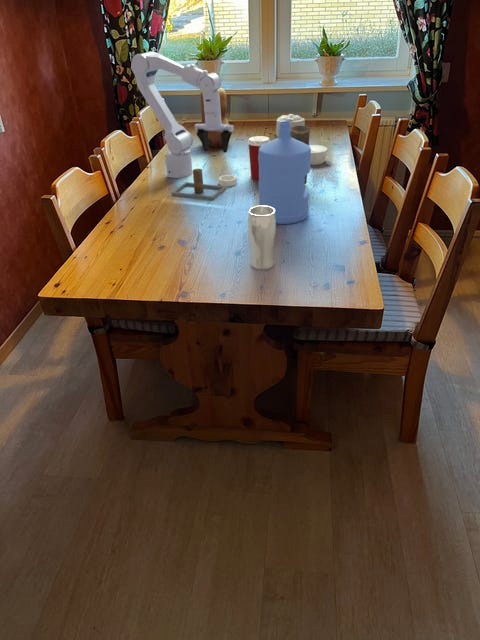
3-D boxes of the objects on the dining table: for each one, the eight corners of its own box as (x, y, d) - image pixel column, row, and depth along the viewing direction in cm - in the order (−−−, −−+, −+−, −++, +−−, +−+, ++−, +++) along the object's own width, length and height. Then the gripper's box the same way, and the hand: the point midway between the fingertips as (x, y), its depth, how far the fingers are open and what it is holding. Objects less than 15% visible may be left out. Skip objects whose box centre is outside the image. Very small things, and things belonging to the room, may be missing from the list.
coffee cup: (268, 184, 181) (268, 141, 172) (246, 183, 182) (245, 141, 174) (272, 176, 188) (272, 135, 179) (250, 175, 189) (249, 135, 181)
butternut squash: (236, 144, 226) (234, 84, 212) (220, 151, 217) (216, 89, 203) (211, 140, 232) (208, 82, 218) (194, 148, 223) (189, 87, 209)
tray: (171, 197, 173) (171, 192, 172) (186, 186, 181) (185, 182, 180) (213, 202, 168) (213, 197, 167) (226, 191, 176) (226, 186, 175)
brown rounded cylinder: (309, 183, 180) (311, 125, 169) (304, 190, 175) (307, 131, 163) (288, 181, 183) (290, 124, 171) (283, 188, 177) (284, 130, 166)
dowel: (193, 193, 174) (190, 171, 169) (197, 190, 176) (195, 168, 172) (201, 194, 173) (199, 172, 168) (205, 191, 175) (203, 169, 170)
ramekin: (295, 164, 199) (296, 151, 196) (303, 156, 207) (303, 143, 204) (322, 167, 195) (323, 153, 192) (329, 159, 204) (330, 145, 201)
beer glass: (247, 259, 133) (246, 206, 125) (273, 257, 133) (273, 204, 125) (250, 271, 127) (249, 216, 119) (277, 269, 128) (277, 215, 119)
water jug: (275, 229, 148) (275, 132, 132) (250, 212, 160) (248, 121, 144) (318, 218, 154) (323, 124, 138) (291, 202, 166) (293, 113, 150)
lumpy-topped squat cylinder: (278, 132, 242) (278, 113, 237) (304, 132, 240) (305, 113, 235) (275, 137, 233) (275, 118, 228) (303, 138, 231) (304, 118, 226)
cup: (216, 187, 180) (215, 179, 178) (223, 181, 185) (223, 174, 183) (232, 189, 178) (232, 181, 176) (239, 183, 183) (239, 175, 181)
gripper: (189, 113, 173) (193, 153, 181) (226, 115, 168) (229, 155, 176) (198, 109, 178) (201, 148, 186) (235, 110, 173) (237, 150, 181)
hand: (215, 151), depth 181 cm, fingers open, 7 cm apart
